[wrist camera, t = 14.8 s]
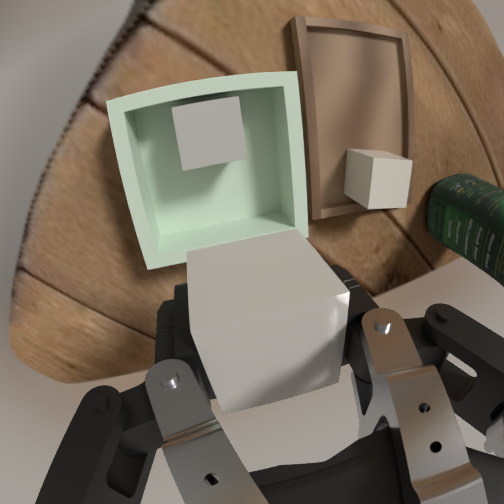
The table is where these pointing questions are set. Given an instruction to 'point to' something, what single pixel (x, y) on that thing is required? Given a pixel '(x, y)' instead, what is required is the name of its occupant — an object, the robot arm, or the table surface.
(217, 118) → the off-white cube
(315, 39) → the walnut tray
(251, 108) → the sage bin
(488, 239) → the coffee jar
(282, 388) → the pale grey cube
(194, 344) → the robot arm
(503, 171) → the table surface
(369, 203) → the white cube
